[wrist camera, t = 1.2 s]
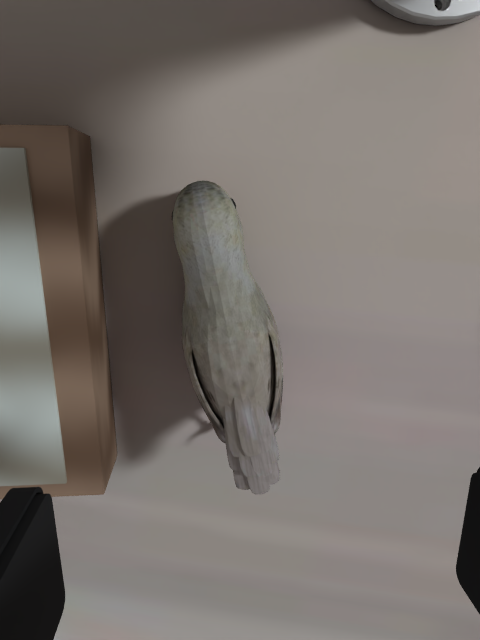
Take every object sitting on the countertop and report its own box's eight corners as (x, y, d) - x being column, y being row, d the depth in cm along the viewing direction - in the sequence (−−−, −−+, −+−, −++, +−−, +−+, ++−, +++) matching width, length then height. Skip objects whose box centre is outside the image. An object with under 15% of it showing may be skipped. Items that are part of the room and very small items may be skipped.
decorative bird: (243, 173, 25) (259, 165, 18) (287, 416, 30) (313, 486, 23) (152, 191, 25) (131, 191, 18) (210, 432, 30) (212, 508, 22)
